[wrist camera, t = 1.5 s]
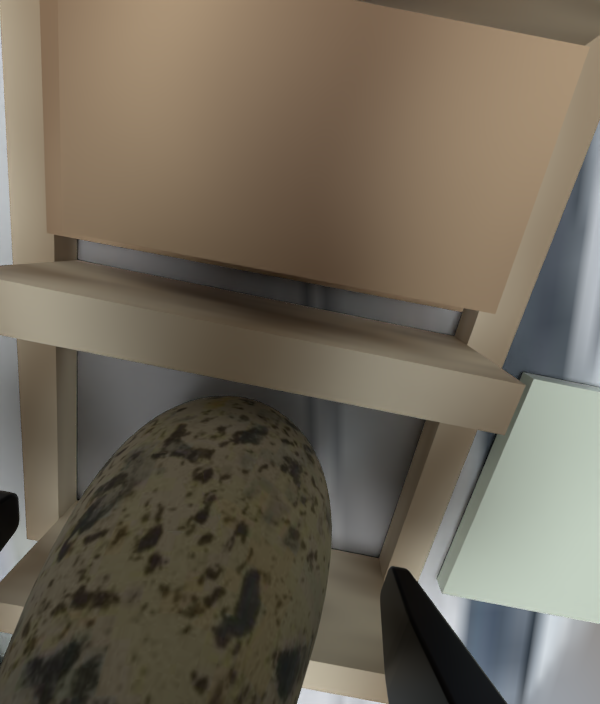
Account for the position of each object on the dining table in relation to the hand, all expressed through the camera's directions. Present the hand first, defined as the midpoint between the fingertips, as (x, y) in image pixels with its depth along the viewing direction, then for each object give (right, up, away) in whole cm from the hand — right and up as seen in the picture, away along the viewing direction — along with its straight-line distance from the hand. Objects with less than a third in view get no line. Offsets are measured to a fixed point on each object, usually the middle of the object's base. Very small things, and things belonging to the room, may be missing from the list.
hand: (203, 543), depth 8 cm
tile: (+13, -1, +4) cm, 14 cm away
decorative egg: (0, +1, +4) cm, 5 cm away
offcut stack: (+2, +10, +2) cm, 10 cm away
